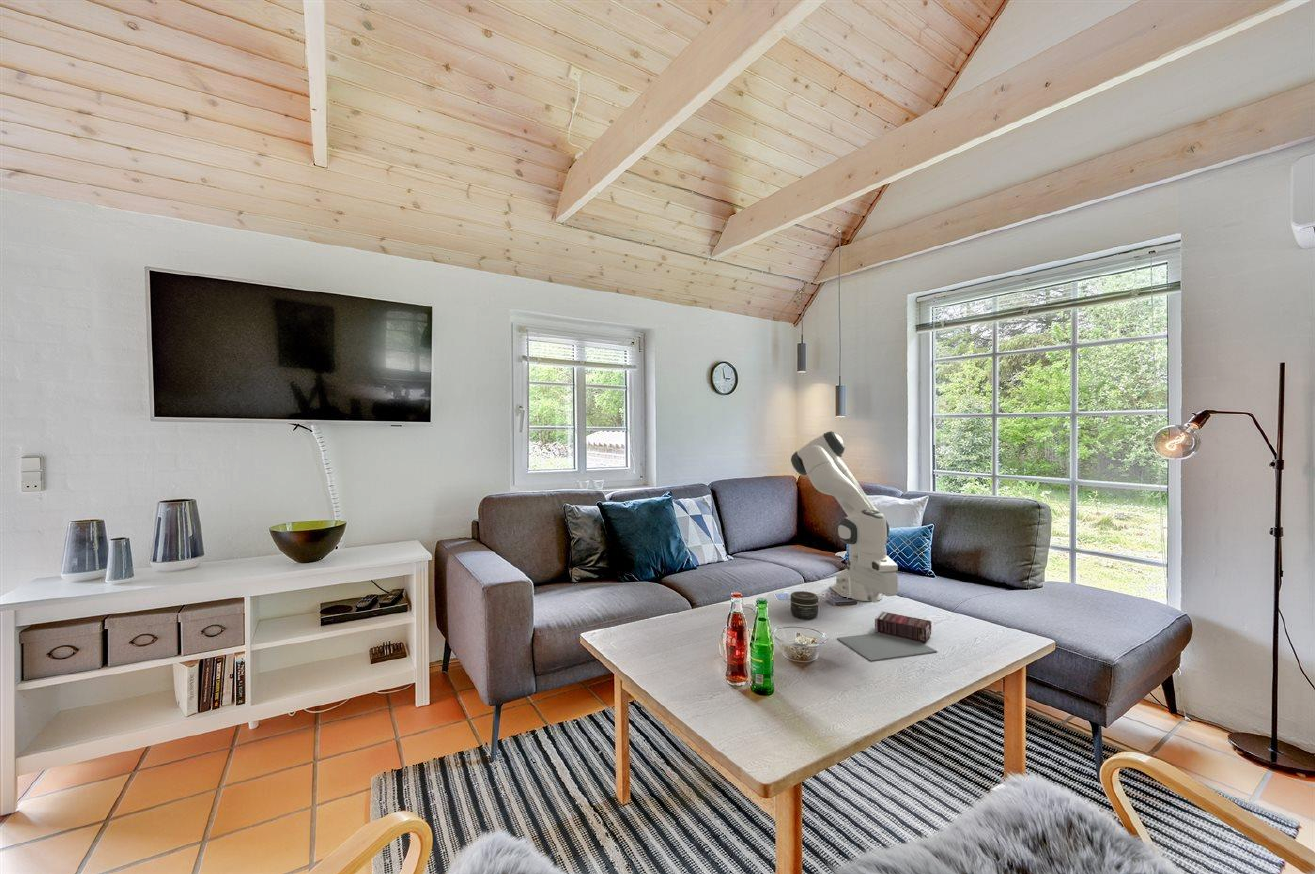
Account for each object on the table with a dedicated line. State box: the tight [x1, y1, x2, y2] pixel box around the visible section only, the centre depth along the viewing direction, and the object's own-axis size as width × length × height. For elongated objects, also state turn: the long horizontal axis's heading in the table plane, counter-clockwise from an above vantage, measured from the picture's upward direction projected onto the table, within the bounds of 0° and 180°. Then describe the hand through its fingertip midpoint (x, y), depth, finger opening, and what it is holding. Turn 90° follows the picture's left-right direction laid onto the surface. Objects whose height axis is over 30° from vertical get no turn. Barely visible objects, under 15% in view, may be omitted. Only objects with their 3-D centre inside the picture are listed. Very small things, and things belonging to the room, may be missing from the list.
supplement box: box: [874, 611, 932, 643], centre depth 176 cm, size 9×5×16 cm
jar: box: [790, 590, 819, 621], centre depth 194 cm, size 10×10×8 cm
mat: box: [836, 632, 938, 662], centre depth 167 cm, size 17×24×1 cm
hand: (871, 601), depth 173 cm, fingers closed
